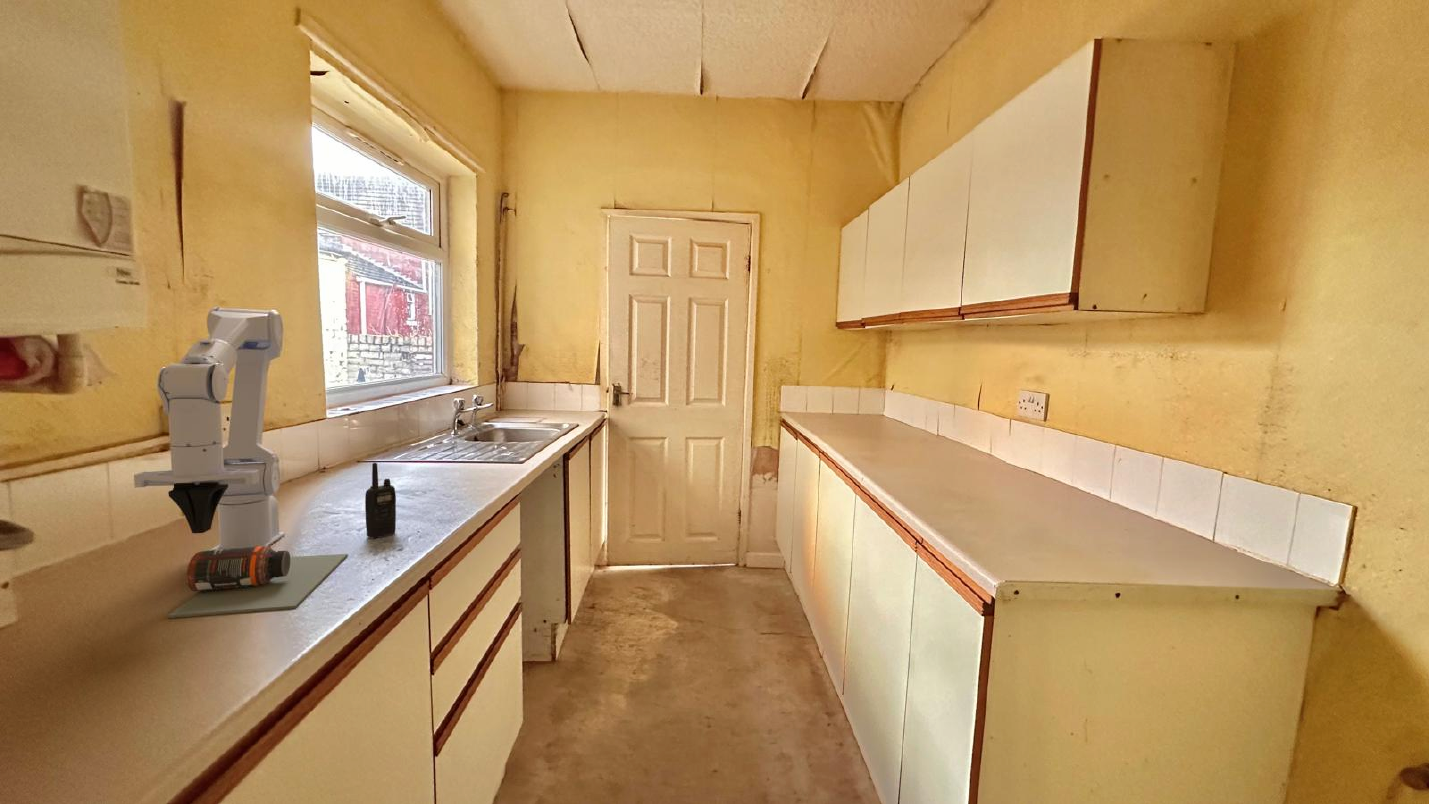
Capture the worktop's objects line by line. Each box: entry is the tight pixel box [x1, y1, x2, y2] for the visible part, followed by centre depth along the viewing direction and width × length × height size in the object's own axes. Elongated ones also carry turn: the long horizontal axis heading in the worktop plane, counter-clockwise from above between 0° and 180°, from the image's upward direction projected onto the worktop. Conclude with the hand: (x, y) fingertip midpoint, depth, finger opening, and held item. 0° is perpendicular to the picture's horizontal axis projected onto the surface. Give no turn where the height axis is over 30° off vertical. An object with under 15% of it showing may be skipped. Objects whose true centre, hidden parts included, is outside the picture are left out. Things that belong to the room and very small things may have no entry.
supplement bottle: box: [186, 546, 291, 593], centre depth 84 cm, size 6×6×11 cm
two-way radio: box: [364, 462, 397, 539], centre depth 108 cm, size 6×4×15 cm
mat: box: [167, 553, 349, 619], centre depth 86 cm, size 20×15×1 cm
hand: (201, 531), depth 83 cm, fingers closed
